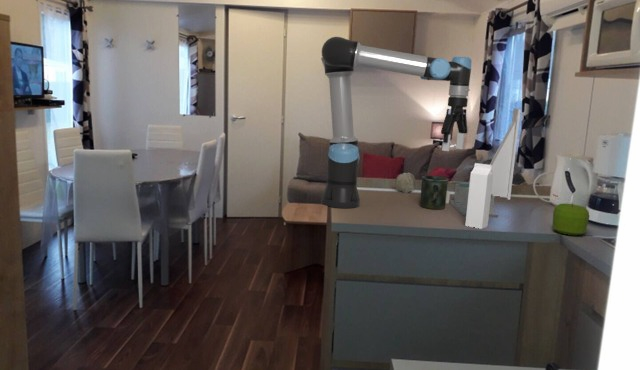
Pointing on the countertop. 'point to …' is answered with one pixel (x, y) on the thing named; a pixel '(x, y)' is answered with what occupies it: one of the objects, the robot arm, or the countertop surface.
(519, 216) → the countertop surface
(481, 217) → the milk
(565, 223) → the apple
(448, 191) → the loose relay
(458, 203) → the grey storage bin
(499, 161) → the white slanted panel
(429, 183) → the mug
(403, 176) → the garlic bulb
